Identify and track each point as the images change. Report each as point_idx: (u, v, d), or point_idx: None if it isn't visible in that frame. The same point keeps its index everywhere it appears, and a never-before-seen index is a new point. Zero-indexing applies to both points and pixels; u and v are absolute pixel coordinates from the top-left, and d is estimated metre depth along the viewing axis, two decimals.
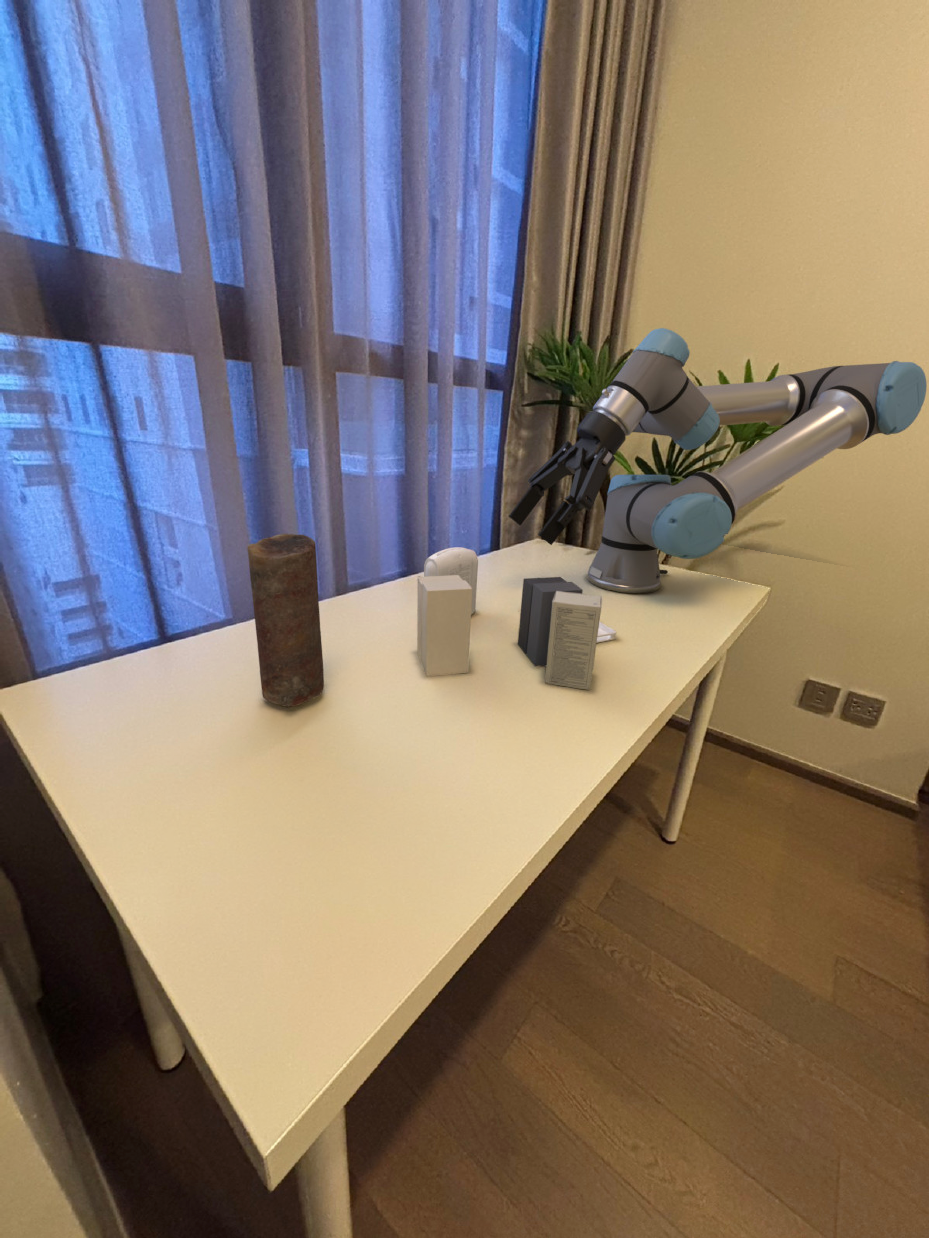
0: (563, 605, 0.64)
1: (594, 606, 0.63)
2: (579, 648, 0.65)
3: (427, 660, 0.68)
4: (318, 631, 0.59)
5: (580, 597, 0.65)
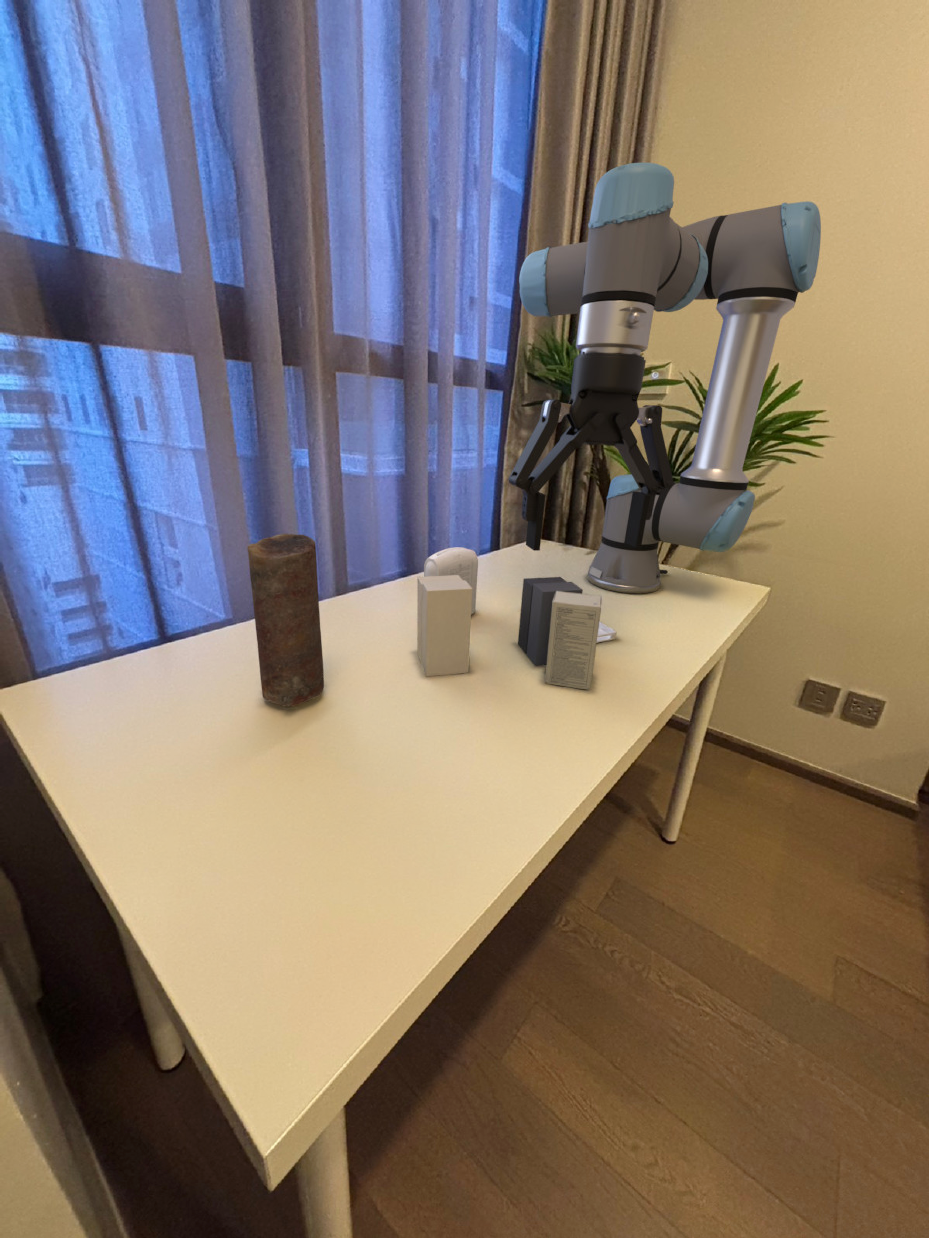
0: (563, 605, 0.64)
1: (594, 606, 0.63)
2: (579, 648, 0.65)
3: (427, 660, 0.68)
4: (318, 631, 0.59)
5: (580, 597, 0.65)
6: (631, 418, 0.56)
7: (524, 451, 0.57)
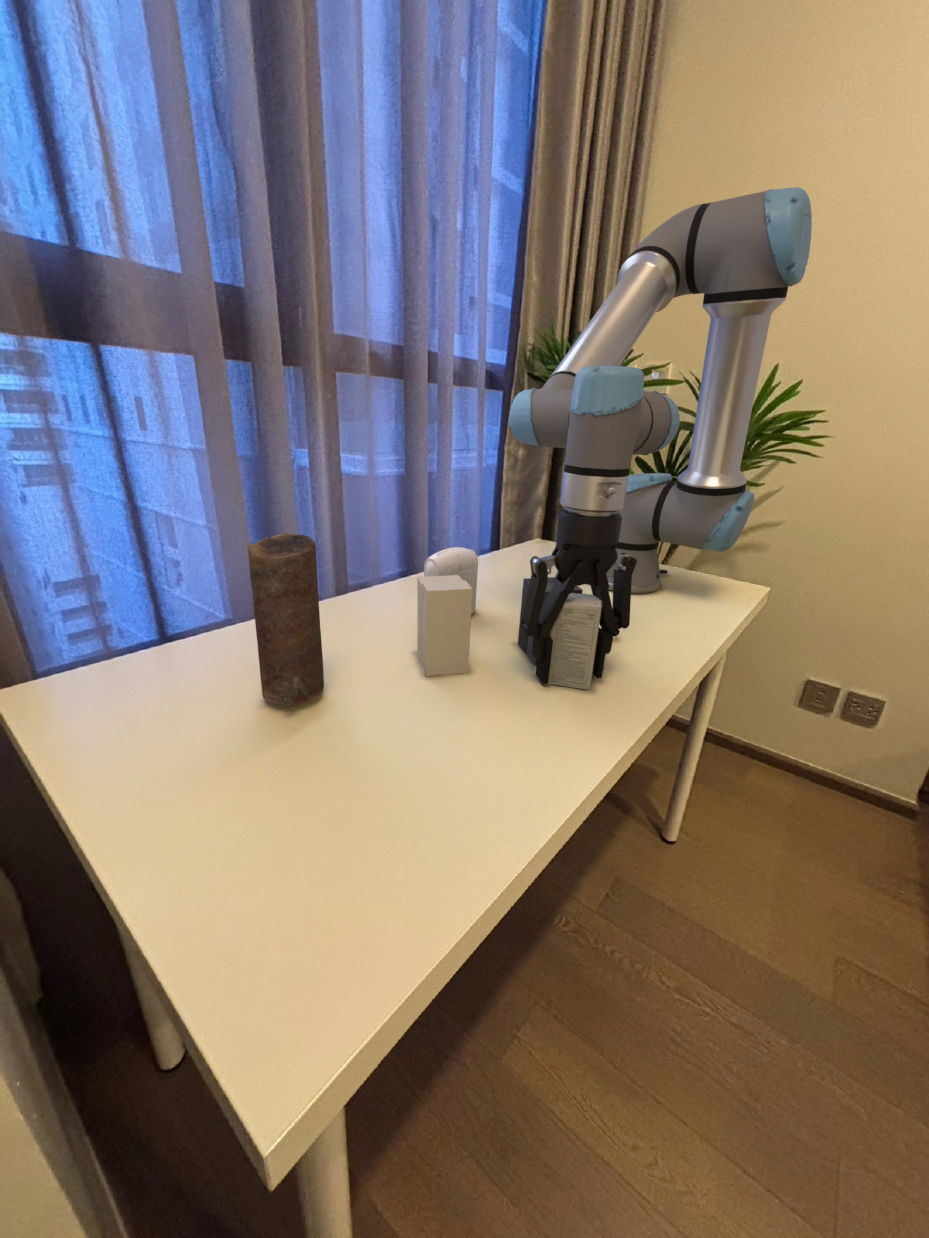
0: (563, 605, 0.64)
1: (594, 606, 0.63)
2: (580, 648, 0.65)
3: (427, 660, 0.68)
4: (318, 631, 0.59)
5: (580, 597, 0.65)
6: (610, 562, 0.63)
7: (526, 602, 0.64)
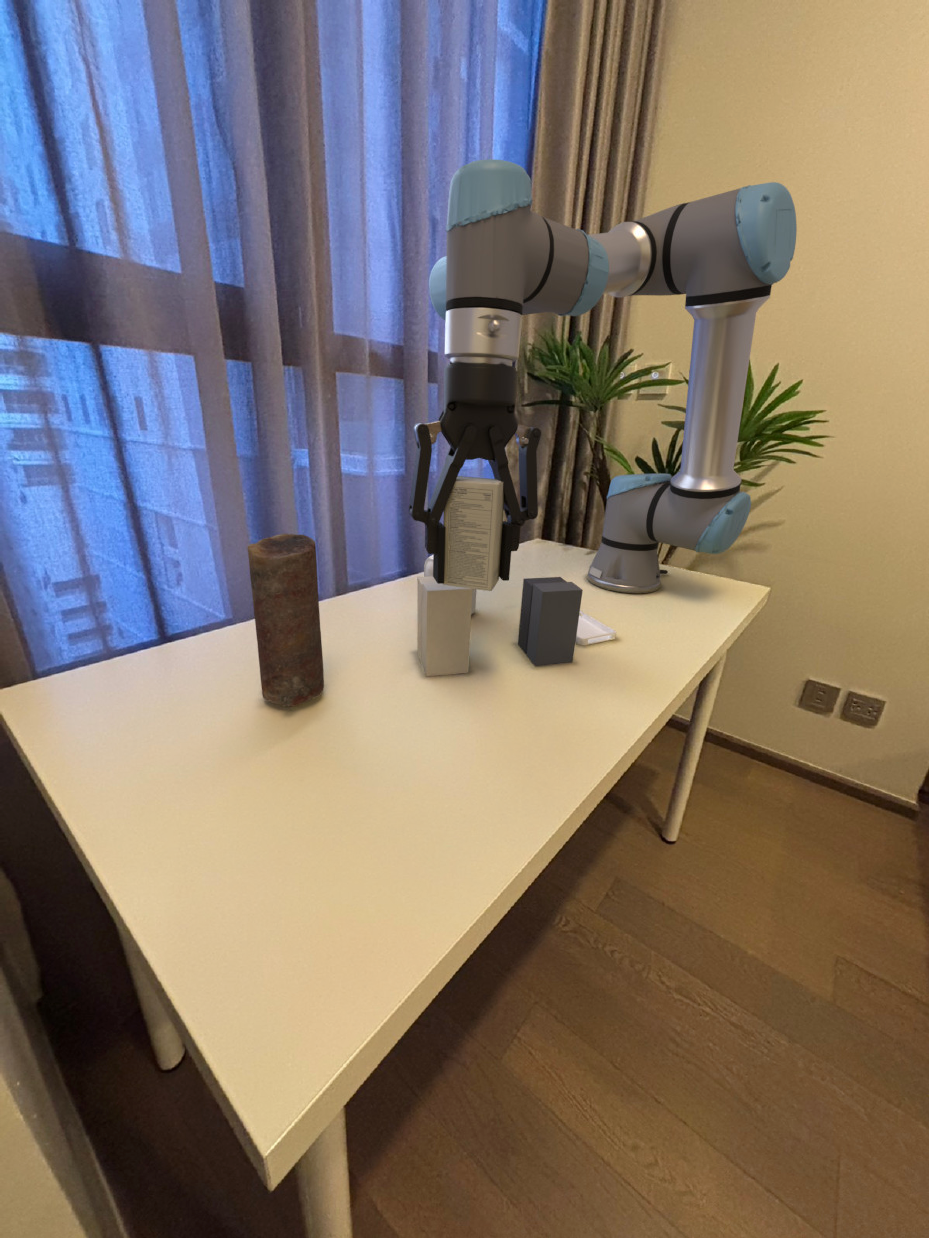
0: (456, 484, 0.54)
1: (490, 484, 0.53)
2: (477, 538, 0.56)
3: (427, 660, 0.68)
4: (318, 631, 0.59)
5: (479, 479, 0.56)
6: (509, 431, 0.53)
7: (413, 481, 0.55)
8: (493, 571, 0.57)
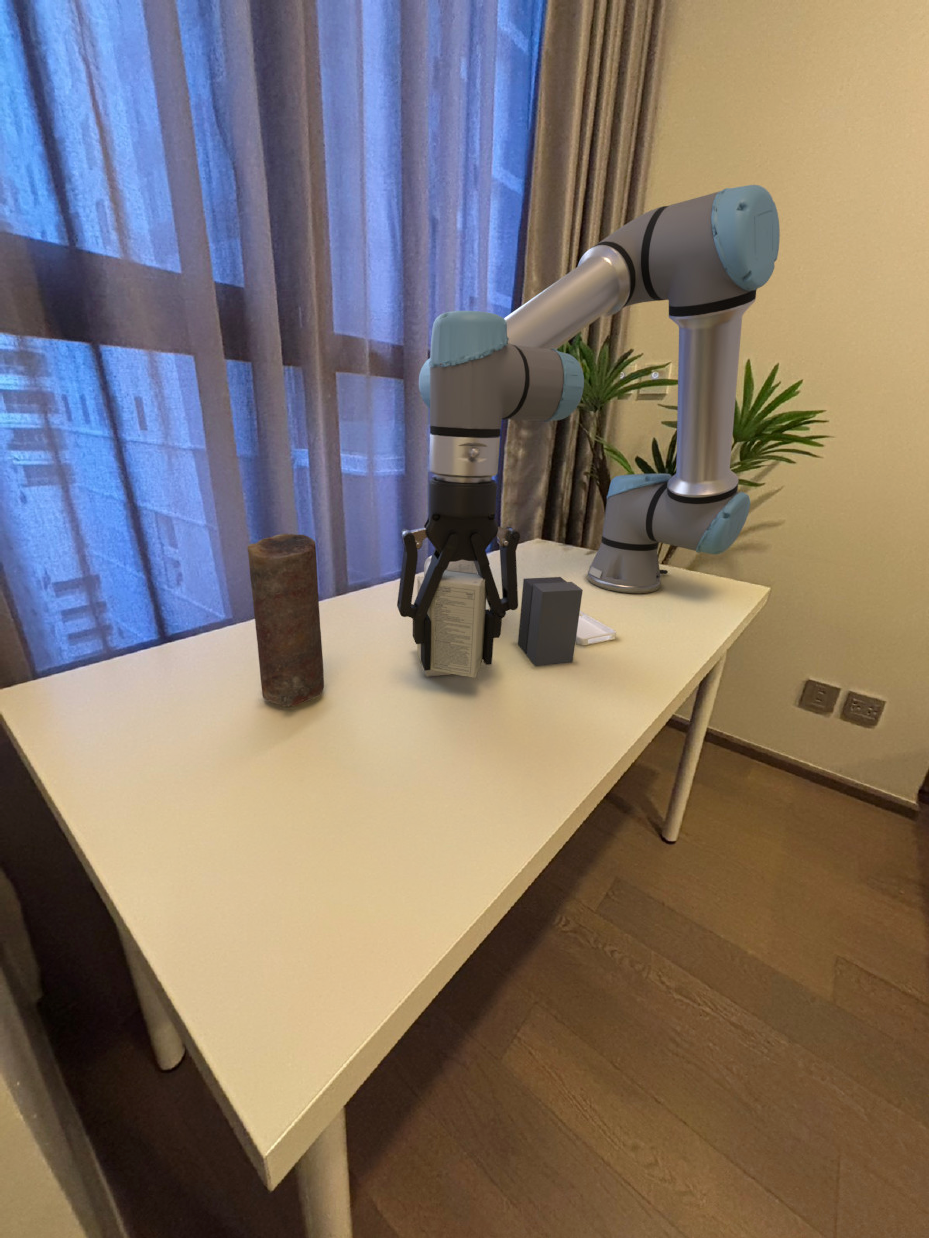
0: (440, 583, 0.58)
1: (472, 585, 0.57)
2: (461, 631, 0.60)
3: None
4: (318, 631, 0.59)
5: (463, 575, 0.60)
6: (489, 535, 0.57)
7: (400, 580, 0.59)
8: (476, 659, 0.61)
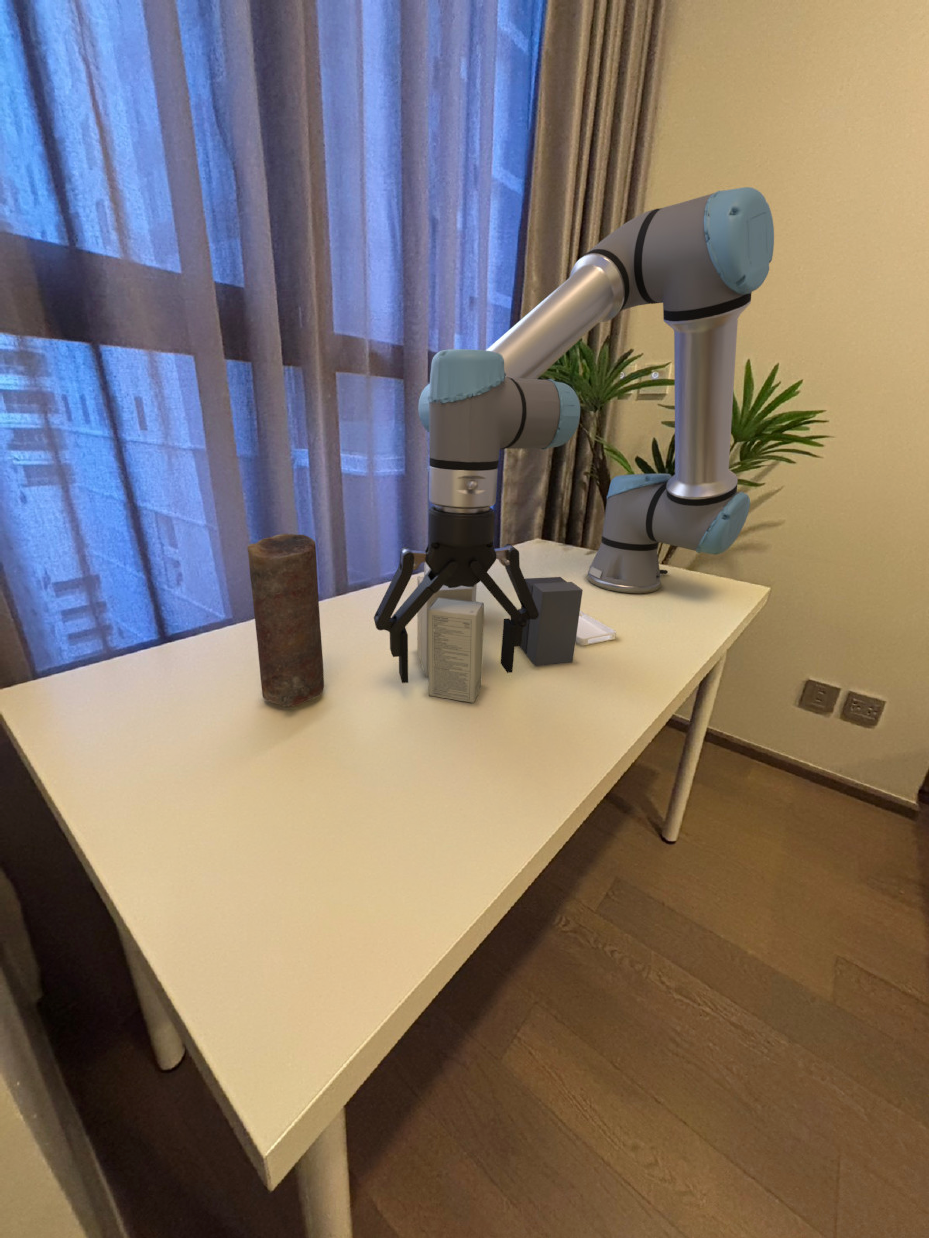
0: (438, 613, 0.60)
1: (469, 614, 0.59)
2: (459, 659, 0.61)
3: (427, 660, 0.68)
4: (318, 631, 0.59)
5: (460, 604, 0.61)
6: (488, 562, 0.59)
7: (386, 593, 0.59)
8: (474, 685, 0.63)
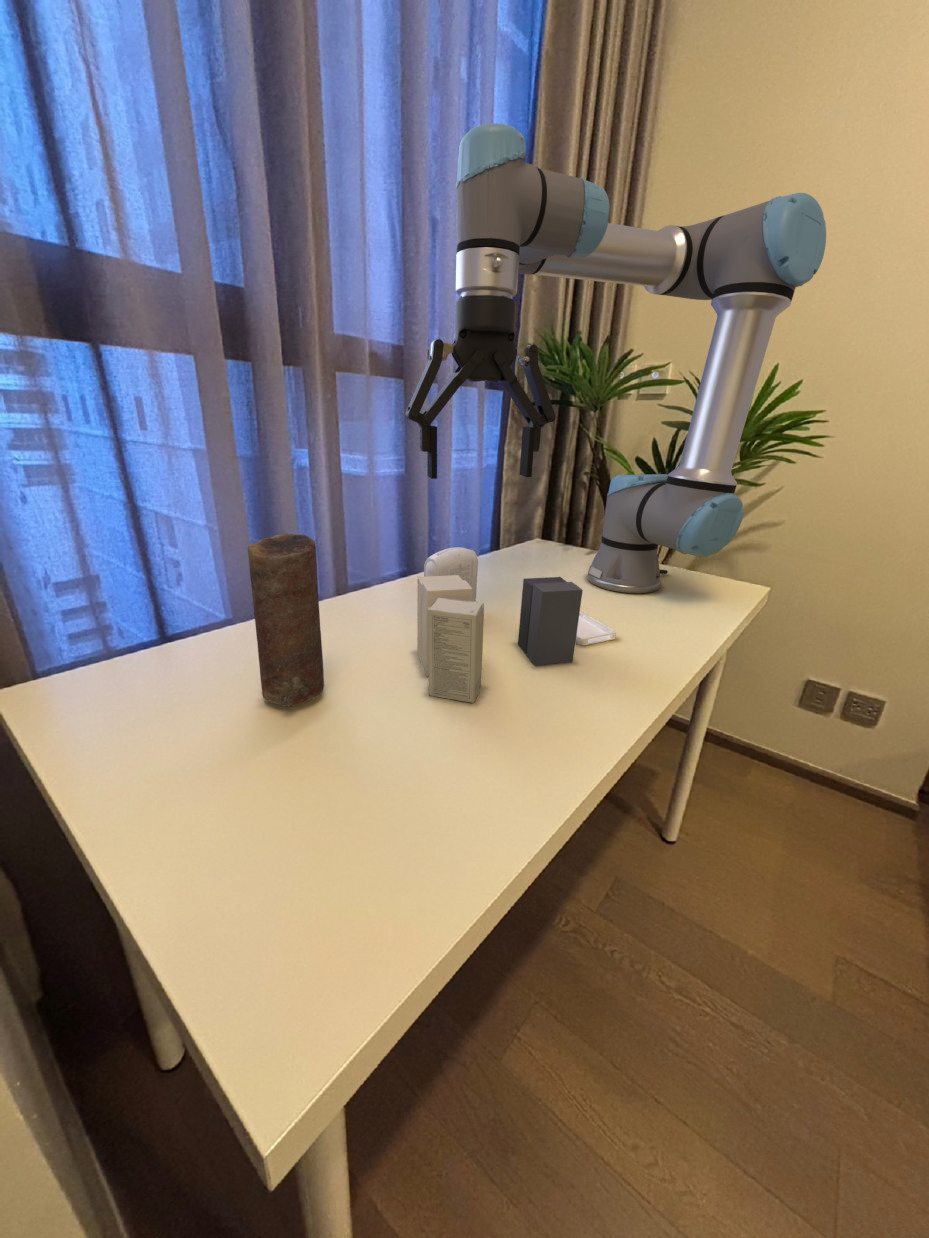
0: (438, 613, 0.60)
1: (469, 614, 0.59)
2: (459, 659, 0.61)
3: (427, 660, 0.68)
4: (318, 631, 0.59)
5: (460, 604, 0.61)
6: (510, 356, 0.64)
7: (417, 387, 0.64)
8: (474, 685, 0.63)
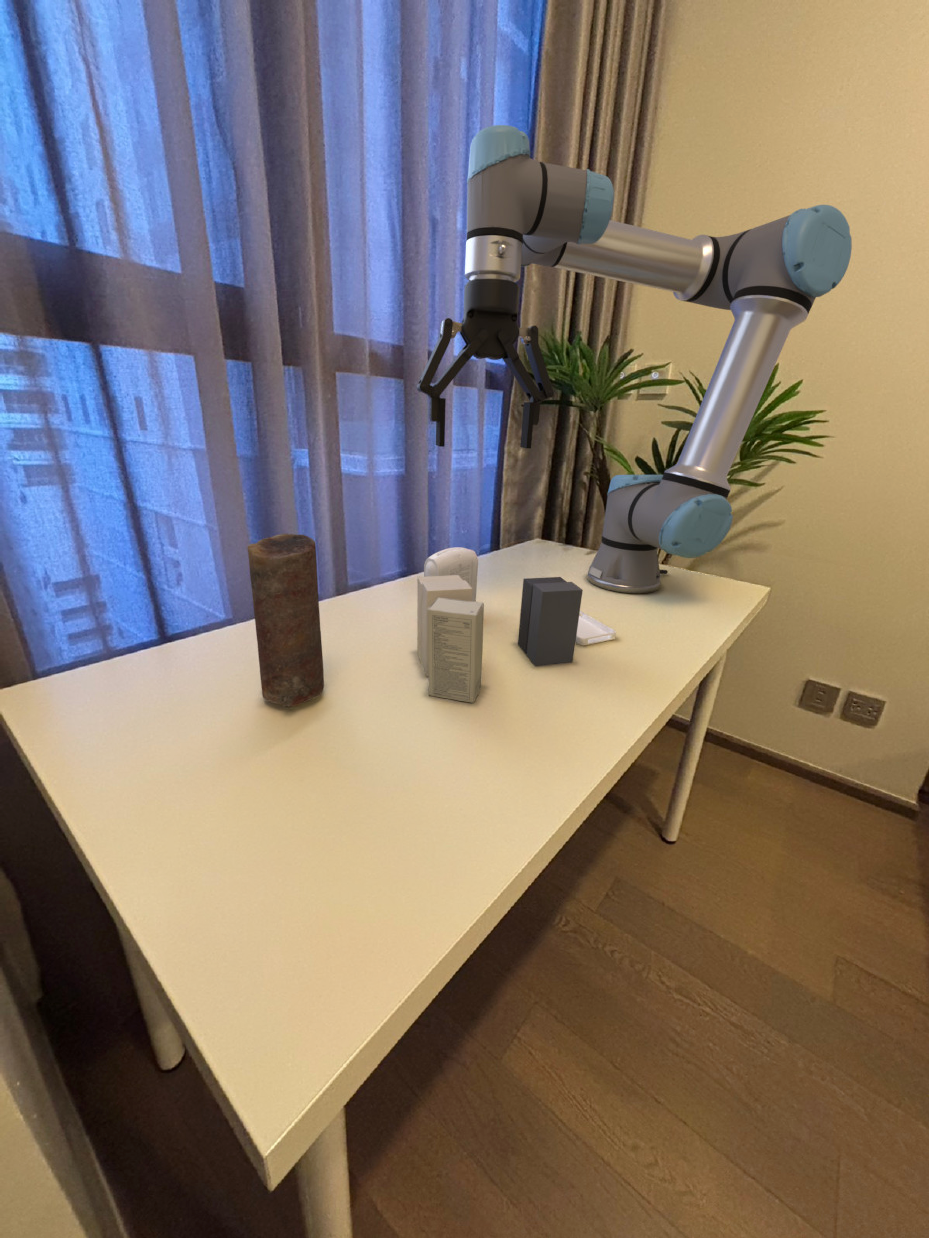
0: (438, 613, 0.60)
1: (469, 614, 0.59)
2: (459, 659, 0.61)
3: (427, 660, 0.68)
4: (318, 631, 0.59)
5: (460, 604, 0.61)
6: (512, 336, 0.71)
7: (428, 362, 0.71)
8: (474, 685, 0.63)
